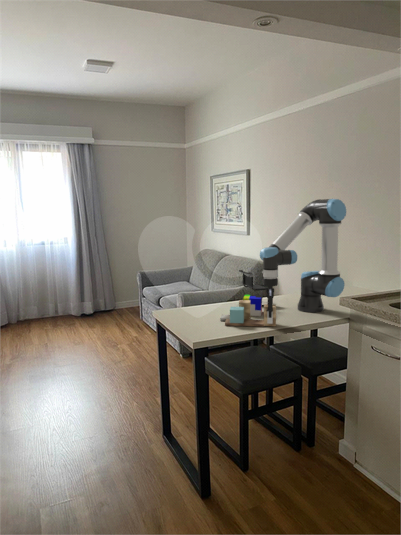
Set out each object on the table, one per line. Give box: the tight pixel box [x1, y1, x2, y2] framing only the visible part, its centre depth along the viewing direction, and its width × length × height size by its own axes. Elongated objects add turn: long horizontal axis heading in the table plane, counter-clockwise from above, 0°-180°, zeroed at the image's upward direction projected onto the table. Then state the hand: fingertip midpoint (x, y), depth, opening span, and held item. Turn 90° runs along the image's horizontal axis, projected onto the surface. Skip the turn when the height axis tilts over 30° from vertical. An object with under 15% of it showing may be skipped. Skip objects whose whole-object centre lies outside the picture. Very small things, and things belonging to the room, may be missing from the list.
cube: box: [229, 306, 244, 323], centre depth 210 cm, size 7×7×7 cm
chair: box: [238, 269, 267, 308], centre depth 252 cm, size 13×17×22 cm
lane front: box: [224, 303, 277, 328], centre depth 209 cm, size 26×8×10 cm, turn 81°
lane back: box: [219, 299, 251, 322], centre depth 219 cm, size 16×8×10 cm, turn 81°
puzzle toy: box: [242, 294, 263, 317], centre depth 231 cm, size 10×10×10 cm
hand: (269, 321), depth 208 cm, fingers closed on lane front, 6 cm apart
